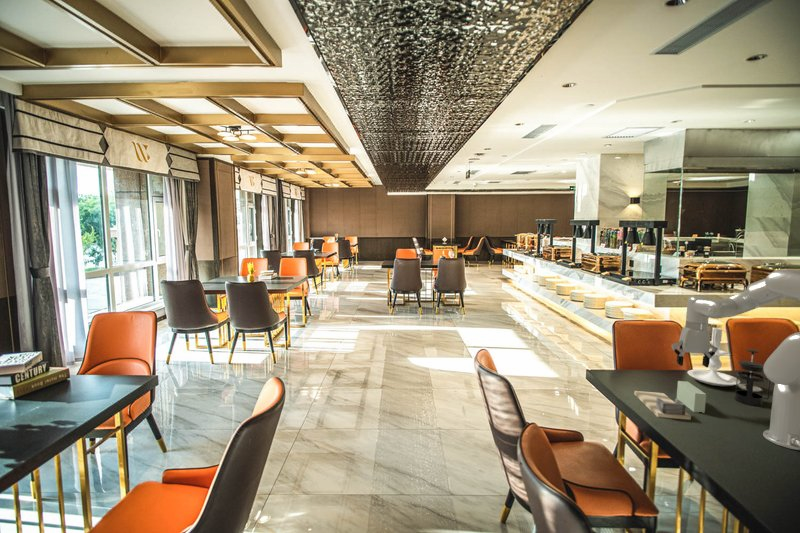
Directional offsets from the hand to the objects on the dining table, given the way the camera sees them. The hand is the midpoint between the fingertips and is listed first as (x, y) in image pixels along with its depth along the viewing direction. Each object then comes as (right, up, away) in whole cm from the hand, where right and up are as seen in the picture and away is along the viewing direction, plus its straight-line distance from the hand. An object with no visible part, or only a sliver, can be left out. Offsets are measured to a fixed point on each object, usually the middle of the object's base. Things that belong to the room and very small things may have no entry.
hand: (692, 365), depth 173 cm
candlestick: (+31, -15, +30) cm, 45 cm away
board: (-14, -17, 0) cm, 22 cm away
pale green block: (0, -17, +1) cm, 17 cm away
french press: (+29, -17, +6) cm, 34 cm away
